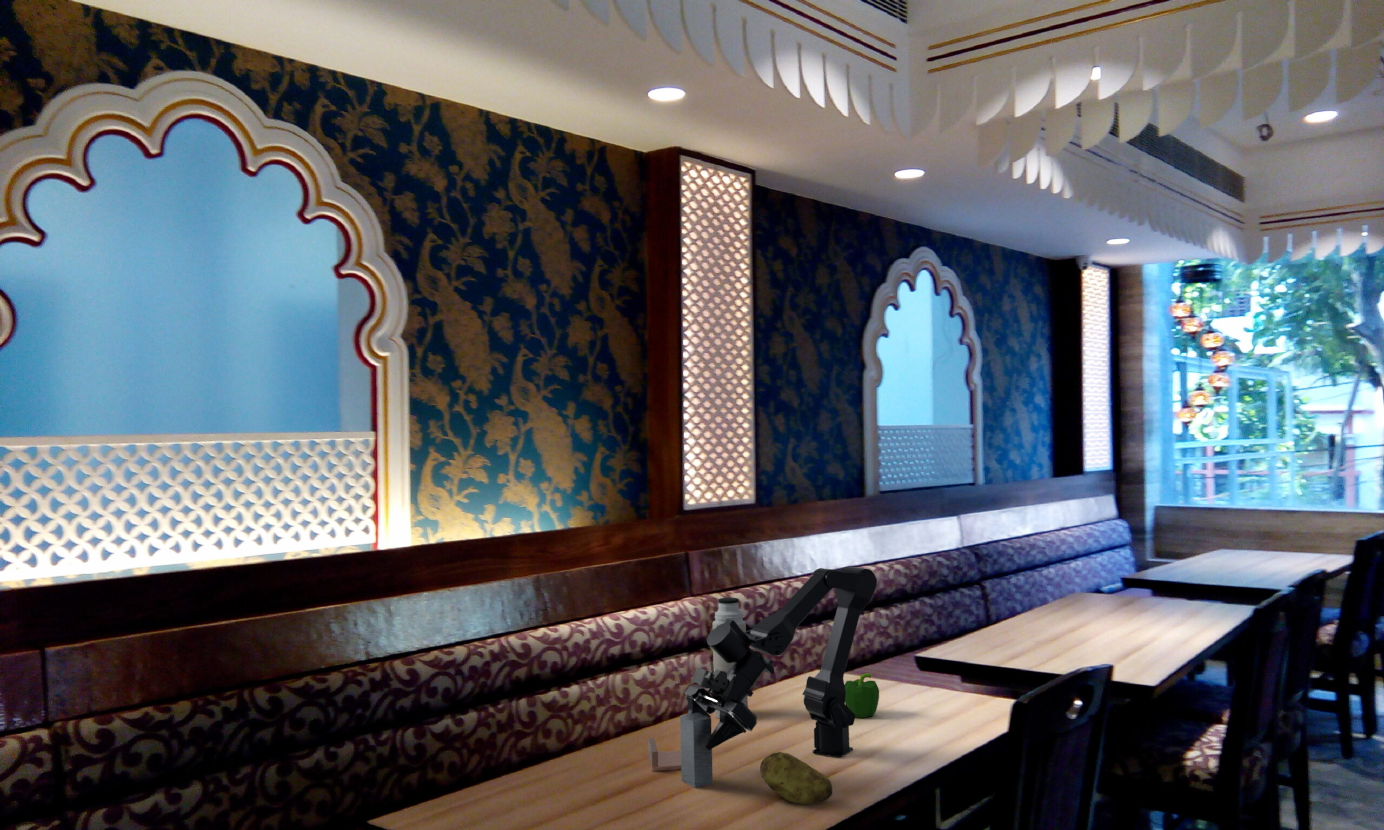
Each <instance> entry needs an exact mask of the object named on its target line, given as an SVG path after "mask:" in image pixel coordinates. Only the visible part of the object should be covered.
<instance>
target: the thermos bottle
mask: <svg viewBox="0 0 1384 830" xmlns="http://www.w3.org/2000/svg"><path fill="white" fill-rule="evenodd" d="M717 601H718V609H717V611H715V613H714V619H715V620H713V622H712V630H713V629H715V628H716V627H717V626H719V625H721V624H723V623H725V622H726V620H727V619H731V620H734V621H735V622H736V623H737V625H738V627H739V628H740V629H741V630H742V631H743V632H746V631H747V629H746V628H747V626H746V625H747V621H745V620H743V618H744V617H743V616H744V614H743V611H742V610H740V606H739V605H740V604H739V602H740V599H739V598H738V597H720V598H718V599H717ZM712 653H713V654H712V656H713V657H712V659H713V661H712V662H713V672H714V671H715V670H716V669H718V670H721V671H726V672H728V670H729V669H730V668H731V666H732V665H733V664H734V662H732V663H726V662H725V661H724V660H723V659H722V658H721V657H720V656H719V655H718V654H717V653H716V652H715V651H714V650H713V649H712ZM748 697H749V696H746V697H745V698H744V700H743V701H742V703H744V704H745V705H746V706H747V707H748V708H749V700H748ZM717 705H718V704H717ZM714 717H715V718H717V719H719V720H720V711H718V710H715V712H714Z"/></svg>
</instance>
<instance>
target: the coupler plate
mask: <svg viewBox="0 0 1384 830" xmlns="http://www.w3.org/2000/svg"><path fill="white" fill-rule="evenodd" d="M647 739H648V740H647V741H648V743H647V744H648V759H649V764H650V766H651V767H650V768H651V771H652V772H659V771H660V772H661V771H664V772H665V771H676V770H681V749H680V750H666V751H664V750H663V751H658V746H657V743H656V740H655V737H648V738H647Z"/></svg>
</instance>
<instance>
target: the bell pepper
mask: <svg viewBox="0 0 1384 830" xmlns="http://www.w3.org/2000/svg"><path fill="white" fill-rule="evenodd" d="M872 676H873V675H872V673H869V672H867V673H863V674H862V675H861V676H860V677H859V678H857V679H855V680H846V681H845V682H844V685H845V690H846V698H845V705H846V706H847V707H848V708H849V709H850V710H851V711H852V712H853V713H854V714H855V718H858V719H860V718H861V719H862V718H867V717H873V716H875V714H876V712H877V709H878V705H879V699H880V688H879V686H878V684H877V682H876V680H866V681H864V680H865V679H866V678H870V679H871V678H872Z"/></svg>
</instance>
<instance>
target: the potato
mask: <svg viewBox="0 0 1384 830" xmlns="http://www.w3.org/2000/svg"><path fill="white" fill-rule="evenodd" d="M759 766H760V767H759V770H760V776H761V778H762V779H763V781H764V783H765V785H767V786H768V787H769V788H770V790H772V792H775V793H776V794H779V795H780V796H781V797H782V798H783V799H785V800H786V801H788V802H791V803H792V804H793V803H794V804H796V805H797V804H799V805H815V804H822V803H824V802H826V801H827V800H828V799H830V798H831V797H832V795H833V786H832V784H833V783H832V781H831V780H830V778H828V777H827V776H826V775H824V774H823V773H822V772H821V771H818V770H817V769H815V768H813V767H812V766H810V765H809V764H808V763H806V762H805V761H803V760H800V759H799V758H798V757H796V756H794V755H793V754H790V753H787V752H781V751H777V752H772V753H771V754H769V755H767V756H766V757H764V758H763V759H762V761H761V762H760V765H759Z"/></svg>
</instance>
